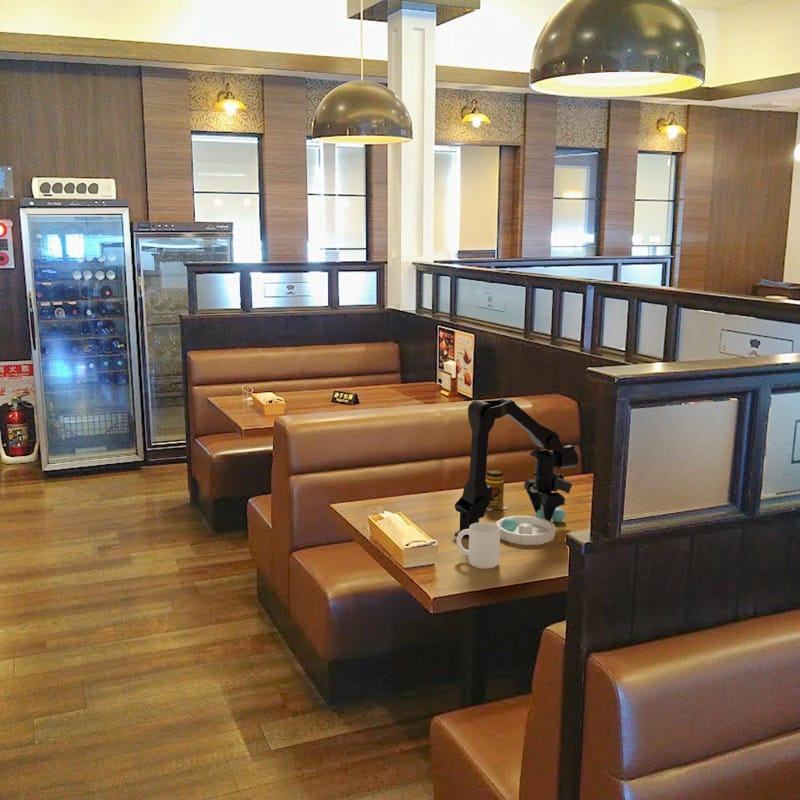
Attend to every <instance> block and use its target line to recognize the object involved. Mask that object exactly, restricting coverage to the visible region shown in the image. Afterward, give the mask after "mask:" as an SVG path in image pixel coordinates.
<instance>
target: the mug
mask: <svg viewBox="0 0 800 800" xmlns="http://www.w3.org/2000/svg"><path fill="white" fill-rule="evenodd" d="M464 535H469V538H468V549H466V548H465V547H464V546H463V544H462V538H463V536H464ZM456 537H457V538H456V546H457V549H458V550H459V552H461V554H463V555H465V556H468V563H469V564H470V566H472V567H473V568H477V569H482V570H483V569H484V570H487V569H488V570H490V569H494V568H496V567H498V565H499V563H500V552H501V551H500V550H501V549H500V547H501V539H500V527H499V526H498V525H496V523H492V522H485V521H484V522H483V521H482V522H481V521H479V522H478V523H473V524H471V525H470V526H469V529H465V530H462V531H461V532H460V533H459V534H458V535H456Z"/></svg>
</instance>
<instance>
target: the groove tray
mask: <svg viewBox="0 0 800 800" xmlns="http://www.w3.org/2000/svg"><path fill="white" fill-rule="evenodd" d="M508 517H511V518H513V519H515V520H516V522H517V528H516V529H515V531H513V532H510V531H507V530H505V529H504V528H503V527H502V522H503V520H504V519H505V518H508ZM495 524H496V525H498V526H499V527H500V540H502V541H504V542H506V543H509V542H510V544H513V543H514V544H515V545H520V546H521V545H522V546H539V545H540V544H541V545H545V544H544V543H546V544H548V543H547V542H549V543H551V542H552V541H554V539H555V536H556V530H557V529H556V527H555V524H554V523H553V522H552V521H548V520H546V519H543V518H538V517H536V516H531V515H510V516H505V517H502V518H500V519H498V520H497V521H496V522H495ZM551 540H552V541H551ZM550 541H551V542H550ZM514 544H513V545H514Z"/></svg>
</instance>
